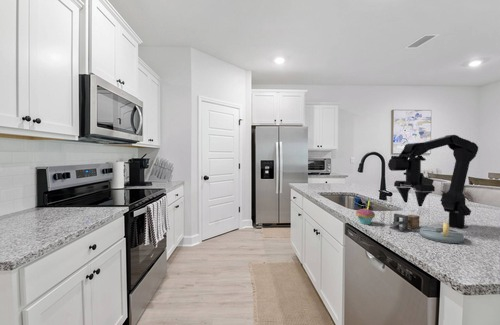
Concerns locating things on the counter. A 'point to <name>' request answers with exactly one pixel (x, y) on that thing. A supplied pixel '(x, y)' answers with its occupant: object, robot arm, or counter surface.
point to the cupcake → (365, 215)
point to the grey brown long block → (409, 221)
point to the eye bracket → (404, 223)
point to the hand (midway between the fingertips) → (412, 204)
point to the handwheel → (442, 234)
